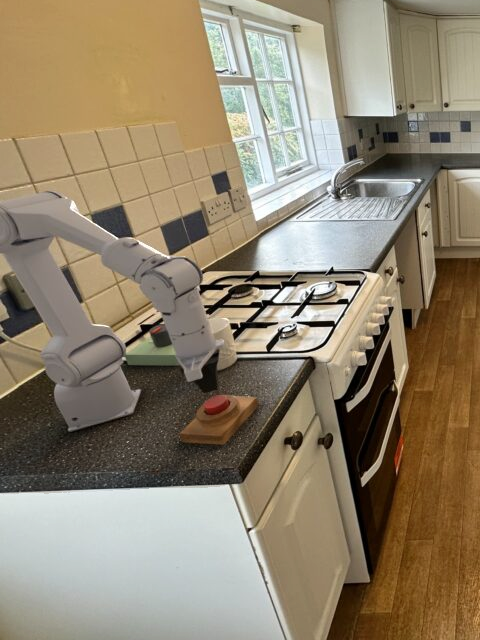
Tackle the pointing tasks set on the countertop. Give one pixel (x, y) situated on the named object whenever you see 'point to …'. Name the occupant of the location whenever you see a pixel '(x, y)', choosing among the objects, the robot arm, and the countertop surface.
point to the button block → (219, 422)
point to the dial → (160, 336)
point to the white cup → (224, 332)
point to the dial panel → (151, 354)
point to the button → (216, 404)
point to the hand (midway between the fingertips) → (211, 389)
